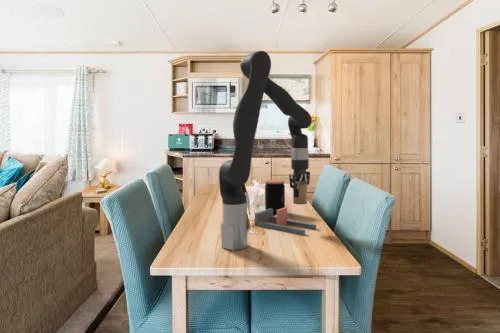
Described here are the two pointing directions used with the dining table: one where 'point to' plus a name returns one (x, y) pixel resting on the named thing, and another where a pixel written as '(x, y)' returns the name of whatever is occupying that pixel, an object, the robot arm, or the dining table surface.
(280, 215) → the plate
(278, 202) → the coffee jar
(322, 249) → the dining table surface
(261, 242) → the dining table surface
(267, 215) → the lane
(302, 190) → the spice jar
